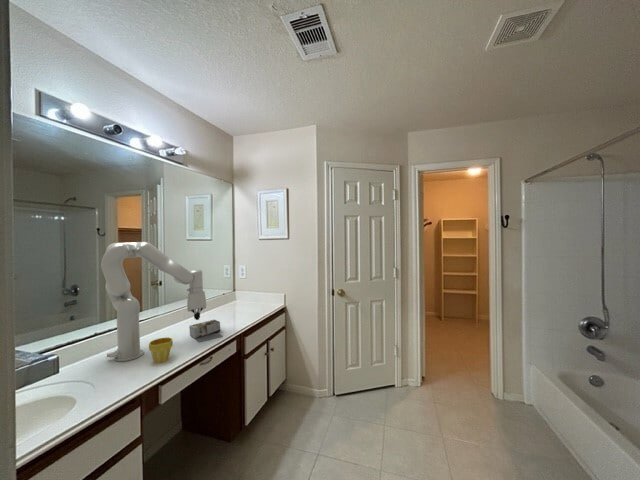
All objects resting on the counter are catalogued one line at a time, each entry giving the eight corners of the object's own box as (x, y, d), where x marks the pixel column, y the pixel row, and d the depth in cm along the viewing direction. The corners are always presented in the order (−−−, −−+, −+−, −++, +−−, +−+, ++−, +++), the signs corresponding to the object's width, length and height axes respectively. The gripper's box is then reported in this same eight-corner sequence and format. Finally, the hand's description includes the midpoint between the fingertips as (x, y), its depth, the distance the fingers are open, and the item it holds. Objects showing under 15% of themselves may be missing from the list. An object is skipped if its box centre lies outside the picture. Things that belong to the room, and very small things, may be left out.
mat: (199, 342, 158) (199, 341, 158) (190, 333, 173) (189, 333, 173) (222, 336, 167) (222, 335, 167) (212, 328, 182) (212, 327, 182)
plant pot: (177, 358, 138) (176, 339, 138) (156, 366, 129) (156, 346, 129) (165, 354, 143) (165, 335, 143) (145, 362, 134) (144, 342, 134)
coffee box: (195, 338, 163) (220, 331, 174) (194, 328, 163) (220, 321, 174) (189, 335, 169) (214, 328, 180) (189, 325, 169) (214, 319, 180)
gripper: (184, 292, 159) (185, 323, 159) (210, 288, 168) (211, 318, 169) (181, 290, 165) (182, 320, 165) (206, 287, 174) (207, 315, 174)
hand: (197, 319), depth 167 cm, fingers closed
